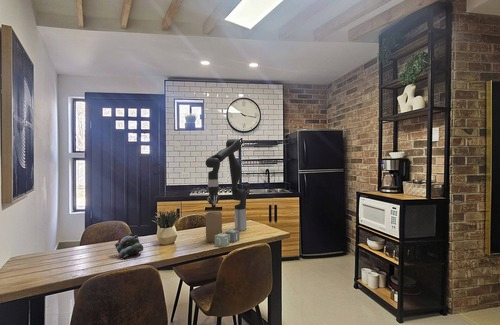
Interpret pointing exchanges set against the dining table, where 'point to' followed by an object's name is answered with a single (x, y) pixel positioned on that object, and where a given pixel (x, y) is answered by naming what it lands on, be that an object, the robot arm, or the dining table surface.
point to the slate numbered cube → (233, 235)
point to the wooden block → (213, 225)
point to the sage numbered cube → (221, 240)
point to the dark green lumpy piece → (128, 246)
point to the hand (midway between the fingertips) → (213, 209)
